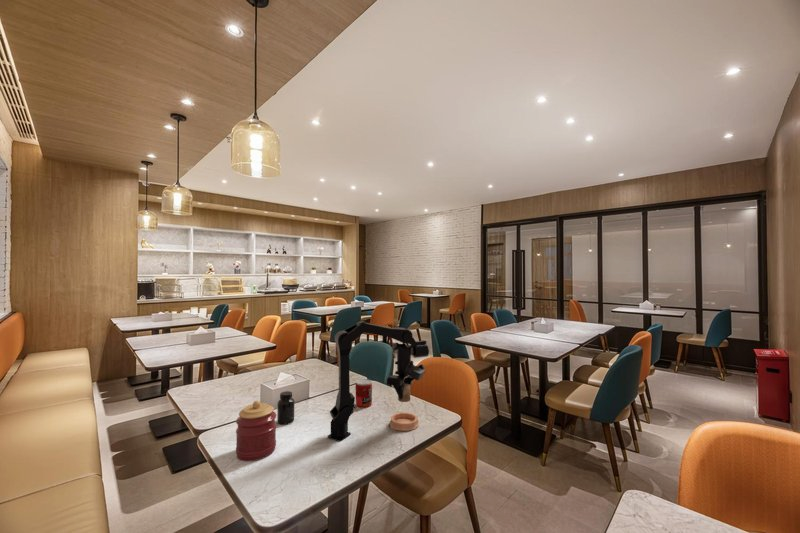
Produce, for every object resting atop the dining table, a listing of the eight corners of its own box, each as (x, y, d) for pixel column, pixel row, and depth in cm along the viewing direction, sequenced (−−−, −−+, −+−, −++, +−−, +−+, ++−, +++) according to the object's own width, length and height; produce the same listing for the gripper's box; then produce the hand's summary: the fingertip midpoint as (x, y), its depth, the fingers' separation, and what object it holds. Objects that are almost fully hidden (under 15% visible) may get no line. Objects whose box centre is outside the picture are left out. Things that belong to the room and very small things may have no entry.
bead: (406, 402, 135) (406, 387, 135) (396, 400, 137) (395, 385, 138) (412, 398, 139) (412, 384, 139) (401, 396, 142) (401, 382, 142)
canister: (264, 439, 126) (264, 391, 127) (283, 450, 118) (283, 399, 119) (228, 453, 116) (229, 402, 117) (246, 466, 108) (247, 411, 109)
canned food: (364, 409, 154) (364, 385, 154) (352, 405, 159) (352, 382, 159) (375, 404, 160) (375, 381, 160) (363, 400, 165) (363, 378, 165)
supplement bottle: (273, 423, 140) (273, 394, 140) (286, 417, 146) (286, 389, 146) (285, 426, 137) (285, 396, 137) (297, 420, 143) (298, 391, 143)
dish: (410, 433, 130) (410, 426, 130) (384, 426, 136) (384, 420, 136) (423, 421, 140) (423, 415, 141) (398, 416, 146) (398, 410, 146)
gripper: (410, 366, 127) (410, 408, 126) (430, 356, 143) (431, 393, 143) (385, 363, 132) (385, 402, 132) (408, 353, 148) (408, 388, 148)
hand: (404, 396), depth 138 cm, fingers closed on bead, 5 cm apart
